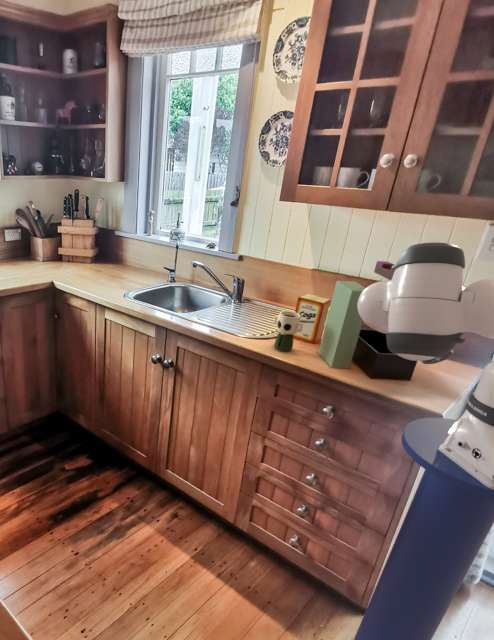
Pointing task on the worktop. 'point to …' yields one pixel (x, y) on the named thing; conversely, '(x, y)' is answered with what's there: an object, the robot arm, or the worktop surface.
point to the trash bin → (380, 358)
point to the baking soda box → (311, 317)
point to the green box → (342, 325)
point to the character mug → (287, 329)
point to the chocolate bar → (384, 269)
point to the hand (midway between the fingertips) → (404, 278)
